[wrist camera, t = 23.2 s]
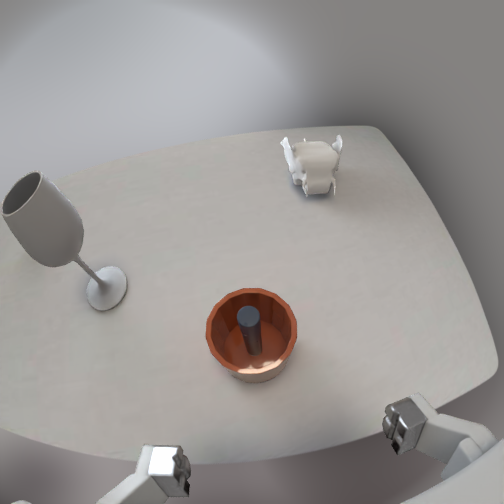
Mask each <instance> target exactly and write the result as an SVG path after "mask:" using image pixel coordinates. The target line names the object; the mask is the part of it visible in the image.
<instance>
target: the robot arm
mask: <svg viewBox="0 0 504 504" xmlns="http://www.w3.org/2000/svg"><path fill="white" fill-rule="evenodd" d="M385 413H386V414H387V415H386V416H385V417H384V418H383V423H382V425H383V431H384V433H385V435H386V437H387V438H389V439H391V440H392V444H391V445H392V447H393V449H394V450H395V452H396V454H397V455H400V454H402V453H404V452H407V451H409V450H411V449H413V448H415V449H417V450H419V451H420V452H423V453H425V454H427V455H429V456H431V457H433V458H435V459H437V460H439V461H441V462H443V463H446V464H447V465H446V466H445V468H444V470H443V471H442V473H441V477H442V478H443V480H444V481H442V482H441V483H439V484H437V485H436V486H434V487H432V488H430V489H428V490H426V491H425V492H423V493H421V494H419V495H417V496H415V497H413V498H411V499H409V500H406V501H405V502H402V503H400V504H504V438H503V439H502V440H501V441H500V442H499V441H498V440H497V438H496V437H495V436H494V435H493V434H492V433H491V432H490V431H489V430H488V429H487V427H486V426H485V425H482V424H478V423H474V422H470V421H467V420H463V419H459V418H456V417H452V416H449V415H445V414H442V413H441V414H438V413H437V412H436V411H435V410H434V408H433V407H432V406H431V405H430V404H429V403H428V402H427V400H426V399H425V398H424V397H423V396H422V395H421V394H420V393H416V394H414V395H412V396H409V397H406V398H404V399H402V400H399V401H397V402H394V403H392V404H389V405H387V406H386V408H385ZM190 475H191V468H190V462H189V460H188V458H187V456H185V455H183V449H182V447H181V446H169V445H143V447H142V448H141V452H140V456H139V459H138V463H137V467H136V470H135V474H131V475H129V476H128V477H127V478H126V479H125V480H123V481H122V482H121V483H120V484H119V485H117V486H116V487H115V488H114V489H112V490H111V491H110V492H109V493H107V494H106V495H105V496H104V497H102V498H101V499H100V500H98V501H97V502H96V503H95V504H164V503H165V502H166V500H167V499H168V497H189V487H190V484H189V483H188V481H187V479H188V478H189V477H190ZM12 504H31V503H29V502H27V501H22V500H20V501H17V502H14V503H12Z"/></svg>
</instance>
